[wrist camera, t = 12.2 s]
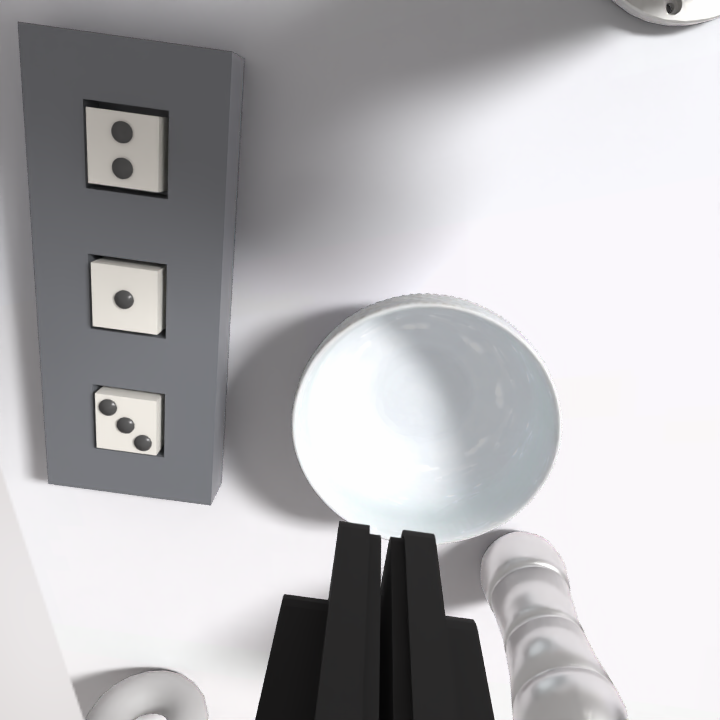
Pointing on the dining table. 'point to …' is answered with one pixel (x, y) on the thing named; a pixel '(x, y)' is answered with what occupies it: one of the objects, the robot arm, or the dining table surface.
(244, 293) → the dining table surface
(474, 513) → the cereal bowl
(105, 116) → the button two dots
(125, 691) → the donut
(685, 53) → the dining table surface
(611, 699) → the plastic bottle
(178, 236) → the button panel
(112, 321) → the button one dot
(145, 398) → the button three dots
